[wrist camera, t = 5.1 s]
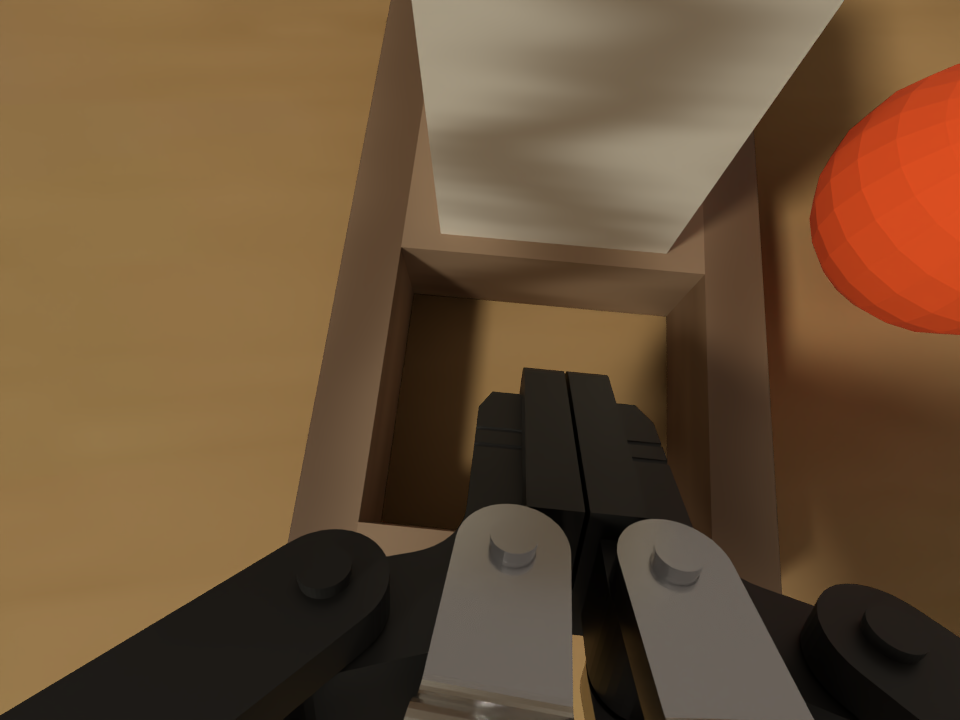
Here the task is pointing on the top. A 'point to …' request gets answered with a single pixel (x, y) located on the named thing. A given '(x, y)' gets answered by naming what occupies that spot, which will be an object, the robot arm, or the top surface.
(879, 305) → the clementine
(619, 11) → the cream block
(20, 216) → the top surface
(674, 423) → the walnut lane
